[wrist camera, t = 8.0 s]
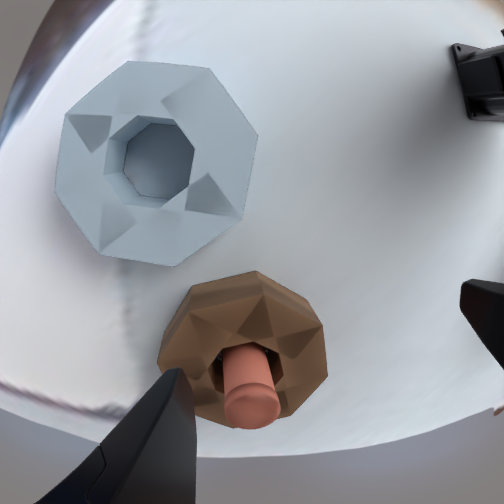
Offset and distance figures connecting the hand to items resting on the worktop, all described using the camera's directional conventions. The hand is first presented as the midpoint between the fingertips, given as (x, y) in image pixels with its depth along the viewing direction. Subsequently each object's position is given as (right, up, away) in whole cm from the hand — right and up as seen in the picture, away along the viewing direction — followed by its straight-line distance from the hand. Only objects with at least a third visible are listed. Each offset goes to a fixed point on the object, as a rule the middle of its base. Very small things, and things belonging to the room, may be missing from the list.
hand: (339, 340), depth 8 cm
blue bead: (-8, +8, +9) cm, 14 cm away
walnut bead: (-3, -4, +13) cm, 14 cm away
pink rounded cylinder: (-3, -4, +13) cm, 14 cm away
